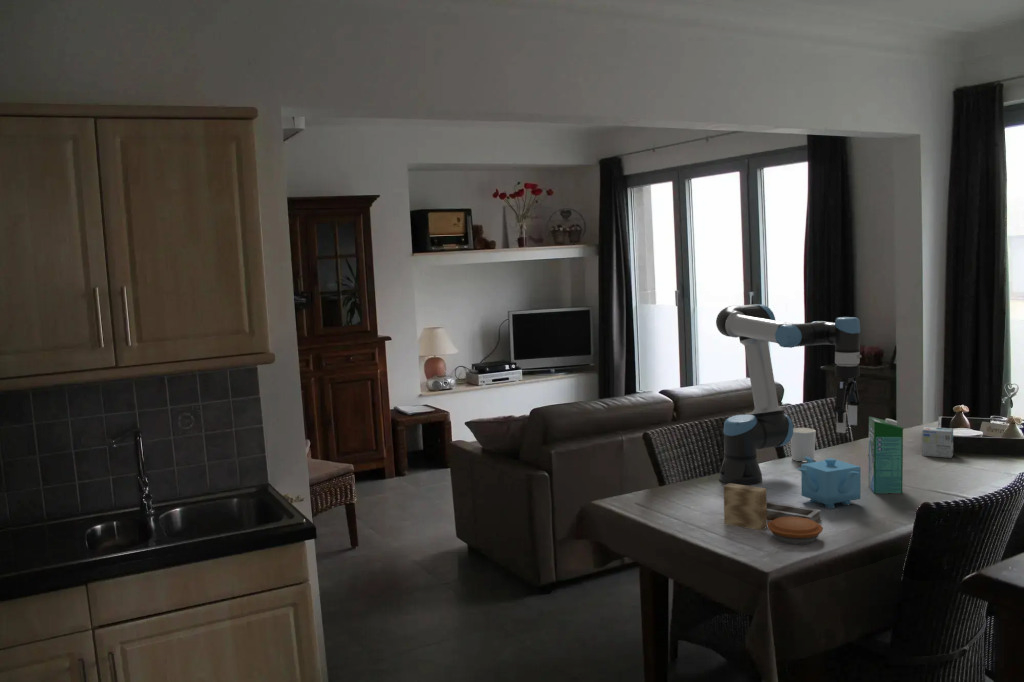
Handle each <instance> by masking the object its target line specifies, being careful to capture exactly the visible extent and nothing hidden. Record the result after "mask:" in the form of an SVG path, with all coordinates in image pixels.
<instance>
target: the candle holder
mask: <svg viewBox="0 0 1024 682" xmlns="http://www.w3.org/2000/svg"><path fill="white" fill-rule="evenodd" d="M816 434H817V430H816V429H813V428H809V427H793V436H792V438H791V439H790V449H791V450H790V452H791V460H792V459H793V460H792V461H794V460H796V461H795V462H797V461H807V460H806V459H805V458H804V457H810V458H812V460H815V448H816Z"/></svg>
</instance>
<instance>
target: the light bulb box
mask: <svg viewBox="0 0 1024 682" xmlns="http://www.w3.org/2000/svg"><path fill="white" fill-rule="evenodd" d="M921 436H922V437H921V439H922V447H921V448H922V450H921V452H922V454H921V455H922V456H925V457H933V458H934V457H936V458H948V459H952V457H953V456H954V428H952V427H951V428H950V427H949V428H948V427H935V426H933V427H929V426H924V427H923V428H922V435H921Z"/></svg>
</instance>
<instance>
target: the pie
mask: <svg viewBox="0 0 1024 682" xmlns="http://www.w3.org/2000/svg"><path fill="white" fill-rule="evenodd" d="M767 529H768V530H769V531H770V532H771V534H772V535H773V537H774V538H775V539H776V540H777V541H778V542H781V543H785V544H790V545H807V544H808V543H809V544H811V543H814V542H815V541H816V540H817V538H818V537H819V536H820V534H821V533H822V531H823V529H824V527H823V526H822V525H821V523H818V522H817V523H816V522H814V521H813V520H810V519H806V518H801V517H781V518H777V519H775V520H772V521H771V520H769V521H768V522H767ZM809 544H808V545H809Z"/></svg>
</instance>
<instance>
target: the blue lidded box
mask: <svg viewBox="0 0 1024 682" xmlns="http://www.w3.org/2000/svg"><path fill="white" fill-rule="evenodd" d="M804 458H805V459H806V460H807V462H805V463H802V464H801V466H800V468H797V471H799V472H801V481H800V482H801V484H800V485H801V497H804V498H807V499H810V500H809V502H810V501H811V502H810V503H814V502H817V503H821V504H824V507H825V508H826V507H828V508H827V509H834V508H835V504H839V503H843V504H842V505H844V504H847V505H846V506H849V505H848V504H851V503H852V501H856V500H861V493H862V492H861V489H862V488H861V484H862V483H861V481H862V479H861V478H862V477H861V475H862V474H861V471H862V470H861V468H862V467H861V466H859V465H855V464H852V463H848V462H846V461H842V460H838V459H835V458H830V457H827V458H825V460H820V461H813V460H812V458H810V457H804ZM833 507H834V508H833Z"/></svg>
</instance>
